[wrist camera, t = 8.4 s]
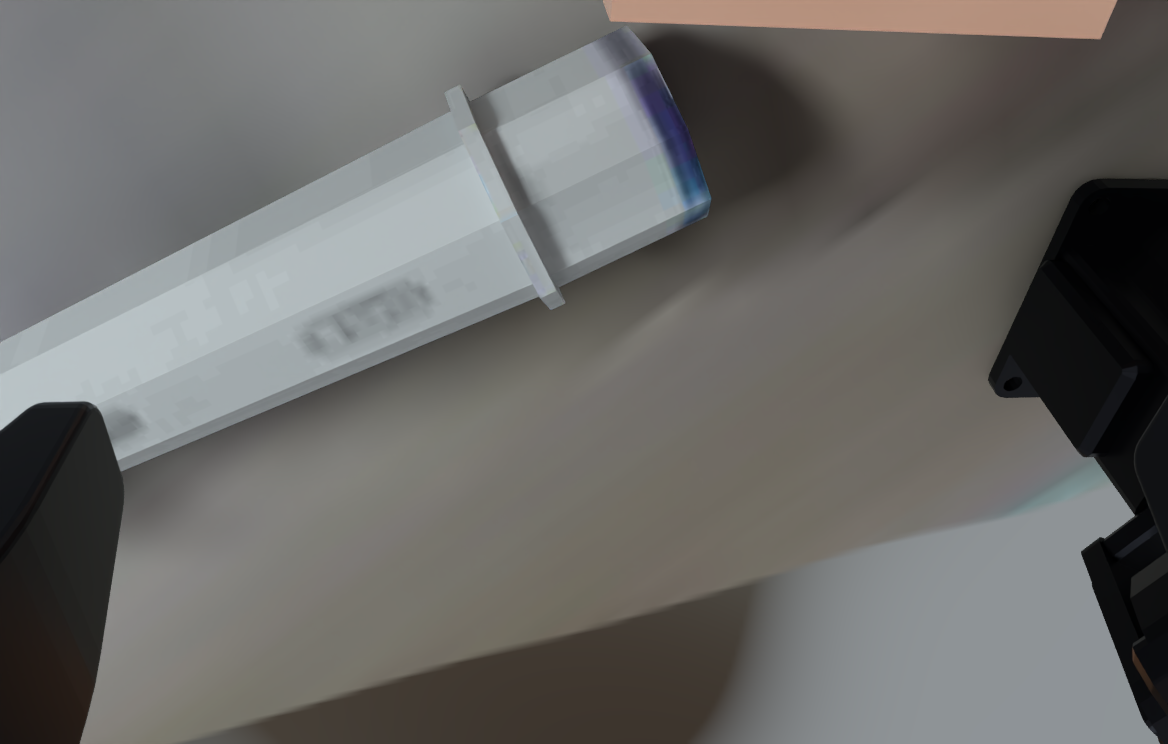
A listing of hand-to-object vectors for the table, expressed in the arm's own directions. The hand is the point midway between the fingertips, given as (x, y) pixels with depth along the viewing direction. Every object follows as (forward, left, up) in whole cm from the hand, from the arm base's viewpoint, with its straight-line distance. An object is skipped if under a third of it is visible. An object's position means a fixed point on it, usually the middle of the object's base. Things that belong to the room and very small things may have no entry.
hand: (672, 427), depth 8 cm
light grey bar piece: (+9, +8, -14) cm, 18 cm away
